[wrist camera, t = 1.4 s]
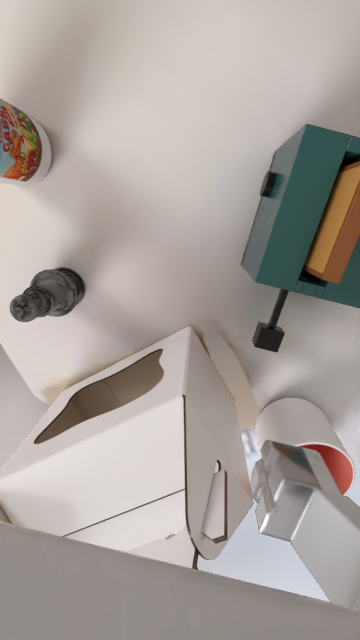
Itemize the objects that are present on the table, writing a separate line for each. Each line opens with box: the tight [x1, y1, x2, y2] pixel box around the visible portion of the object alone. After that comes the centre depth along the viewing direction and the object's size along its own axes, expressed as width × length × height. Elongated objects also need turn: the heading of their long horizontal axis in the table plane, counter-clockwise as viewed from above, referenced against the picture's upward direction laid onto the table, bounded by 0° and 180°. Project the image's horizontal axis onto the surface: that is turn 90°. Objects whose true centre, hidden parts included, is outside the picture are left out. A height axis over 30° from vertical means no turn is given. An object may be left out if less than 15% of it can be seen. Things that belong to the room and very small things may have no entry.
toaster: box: [241, 124, 360, 308], centre depth 32 cm, size 13×11×11 cm
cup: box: [255, 398, 355, 496], centre depth 41 cm, size 10×10×10 cm
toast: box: [302, 161, 360, 284], centre depth 28 cm, size 9×1×10 cm, turn 166°
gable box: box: [0, 326, 254, 570], centre depth 32 cm, size 22×13×28 cm, turn 120°
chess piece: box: [10, 268, 85, 322], centre depth 36 cm, size 6×6×12 cm
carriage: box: [252, 289, 289, 352], centre depth 35 cm, size 20×3×2 cm, turn 166°
